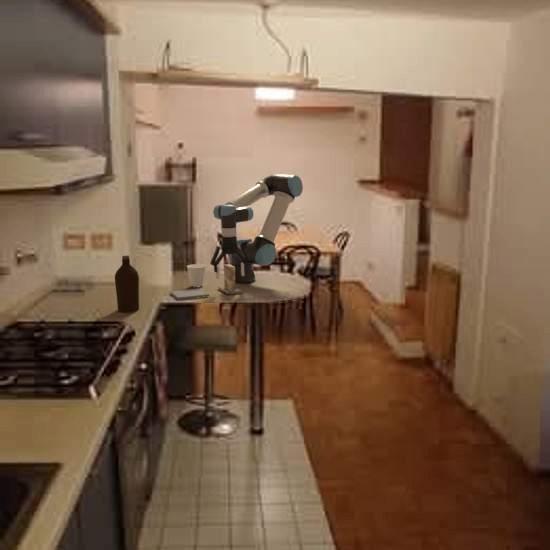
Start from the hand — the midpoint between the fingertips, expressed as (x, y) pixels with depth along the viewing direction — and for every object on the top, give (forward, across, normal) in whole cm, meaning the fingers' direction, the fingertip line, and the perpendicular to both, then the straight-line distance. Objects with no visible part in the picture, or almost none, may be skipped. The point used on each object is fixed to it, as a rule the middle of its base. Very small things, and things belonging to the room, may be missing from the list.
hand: (230, 276), depth 316 cm
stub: (+7, +1, 0) cm, 8 cm away
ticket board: (+7, +22, 0) cm, 23 cm away
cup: (+8, +13, -18) cm, 23 cm away
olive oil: (+7, +55, +15) cm, 57 cm away
